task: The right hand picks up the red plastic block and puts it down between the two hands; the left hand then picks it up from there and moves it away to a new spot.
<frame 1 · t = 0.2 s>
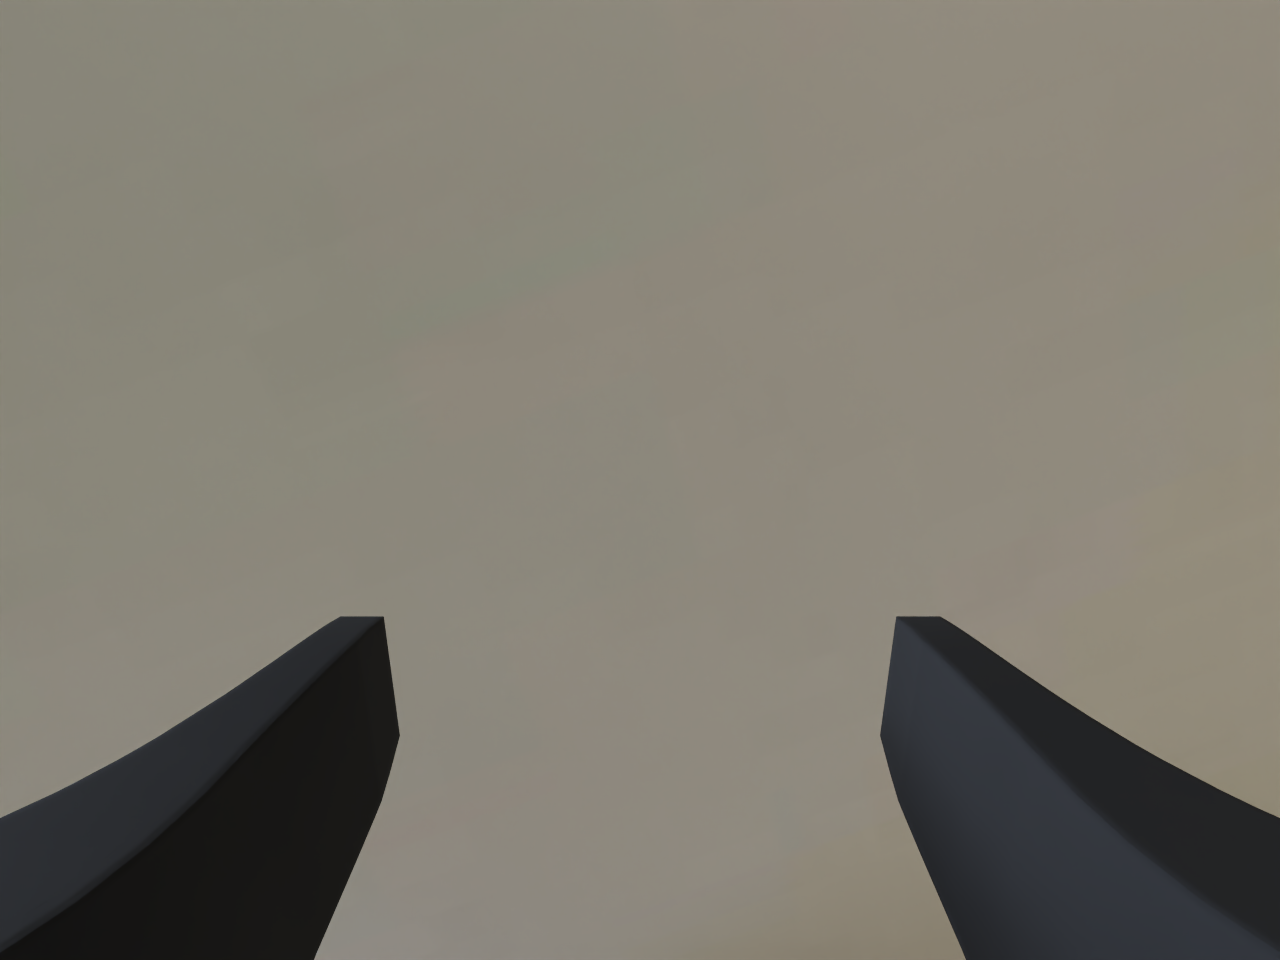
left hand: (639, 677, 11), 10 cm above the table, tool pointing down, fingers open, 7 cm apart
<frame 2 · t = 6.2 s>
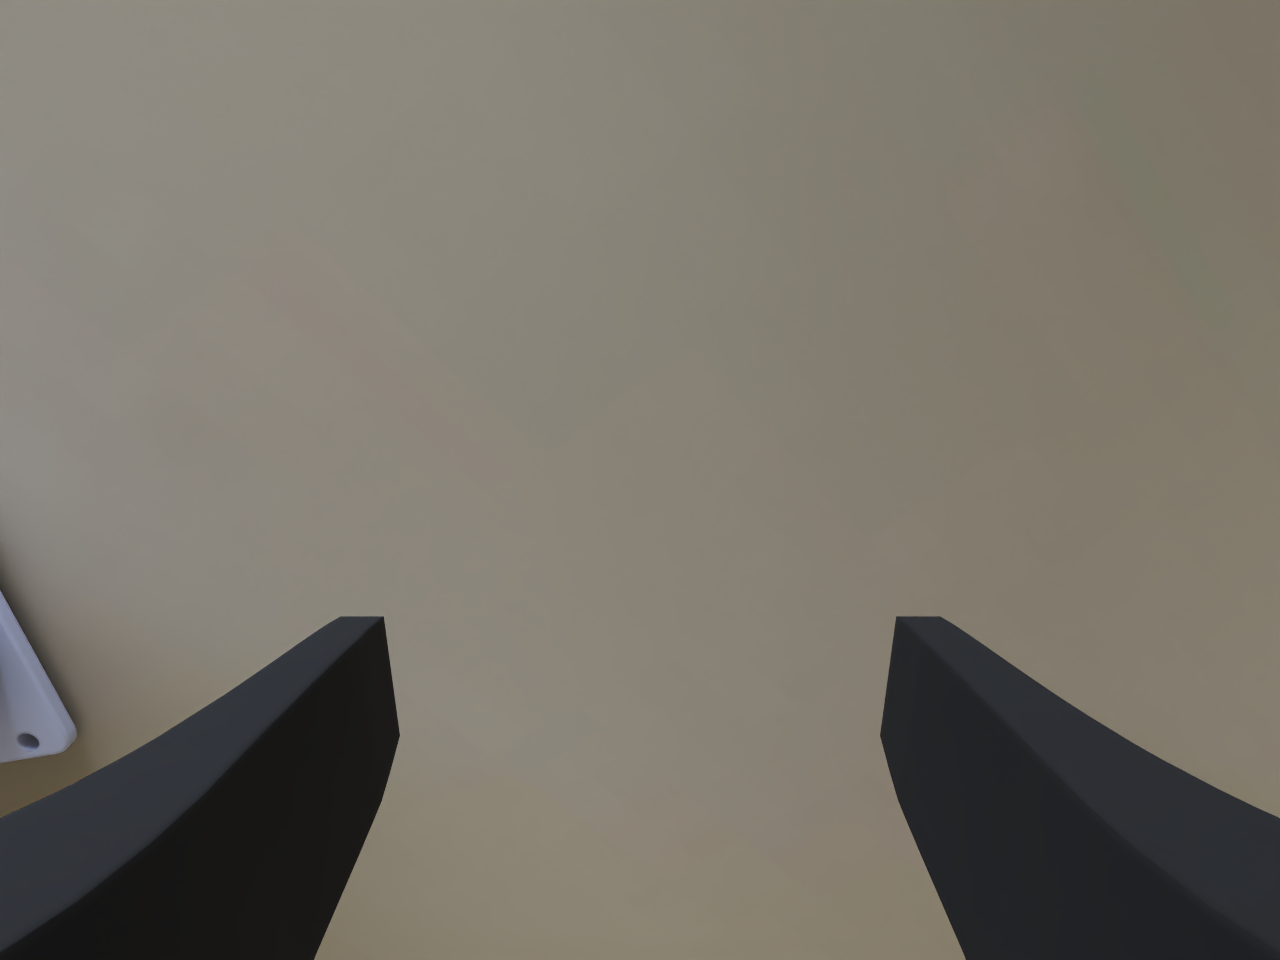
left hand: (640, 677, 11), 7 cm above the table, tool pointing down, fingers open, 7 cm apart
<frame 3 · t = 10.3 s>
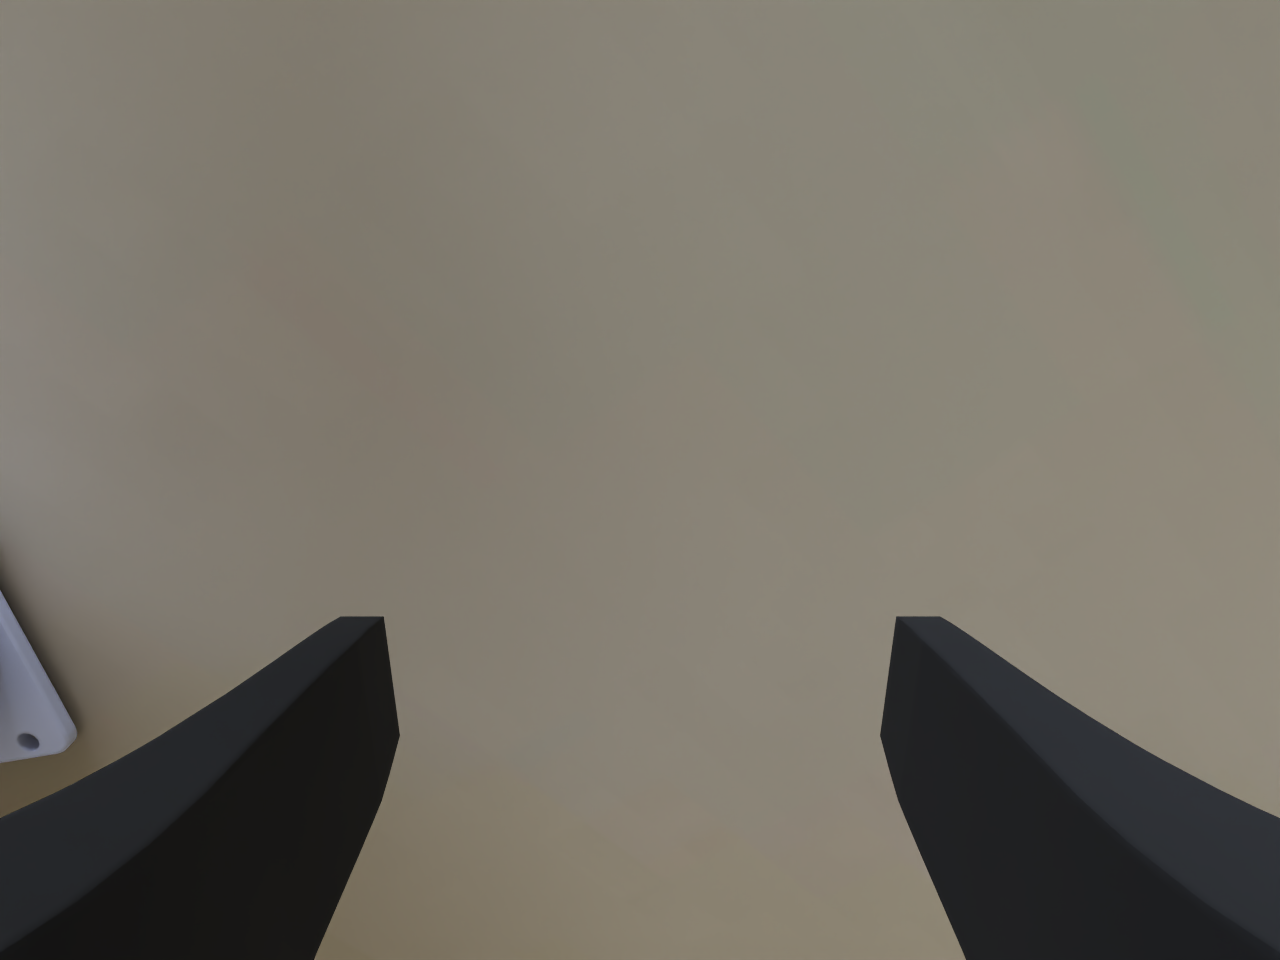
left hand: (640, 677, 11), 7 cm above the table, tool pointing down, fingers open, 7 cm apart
when the right hand's fingers open (1 cm above the table, at t = 14.8 s): block stays where it is, on the table.
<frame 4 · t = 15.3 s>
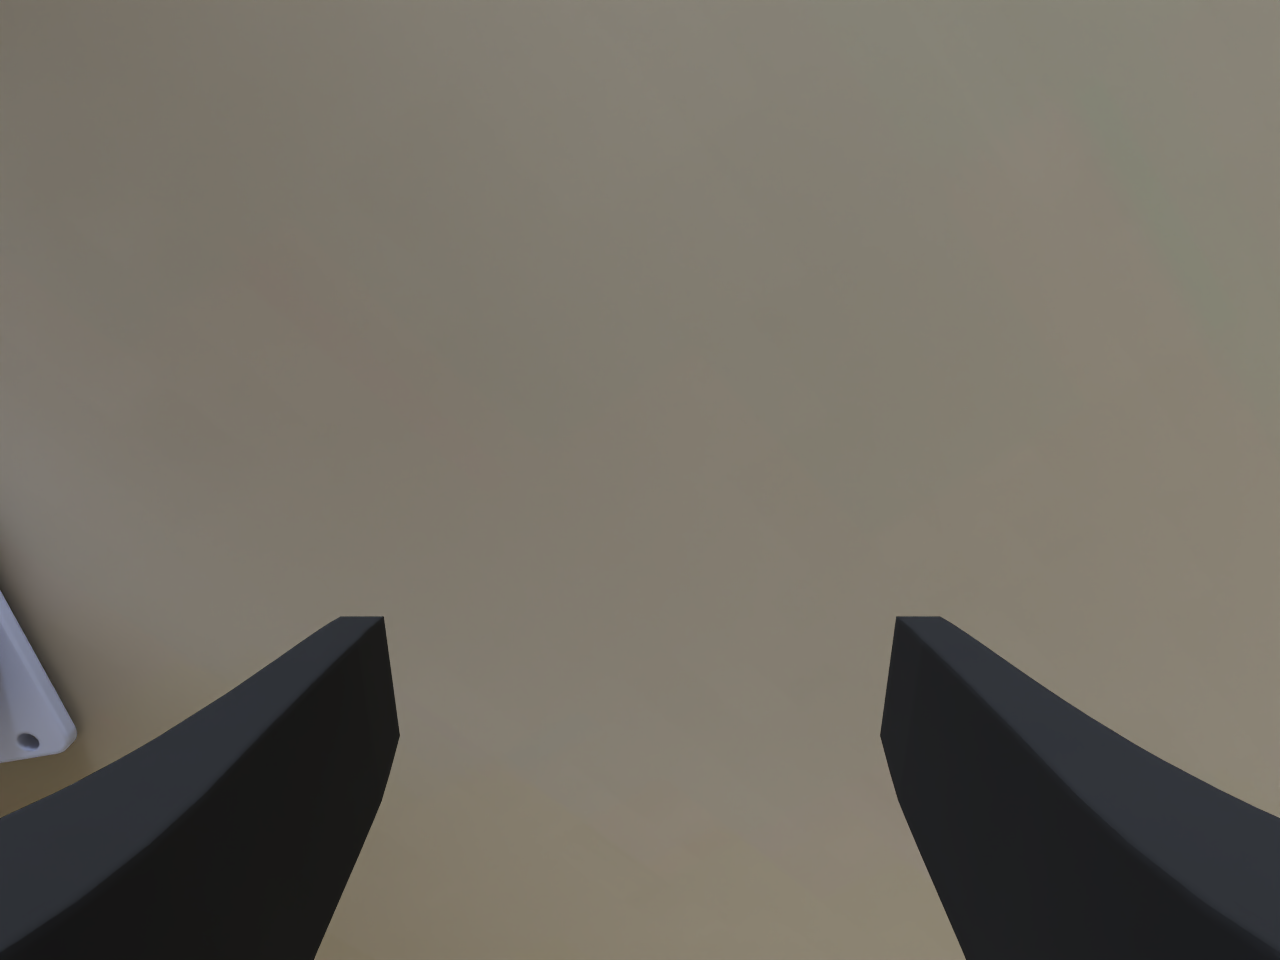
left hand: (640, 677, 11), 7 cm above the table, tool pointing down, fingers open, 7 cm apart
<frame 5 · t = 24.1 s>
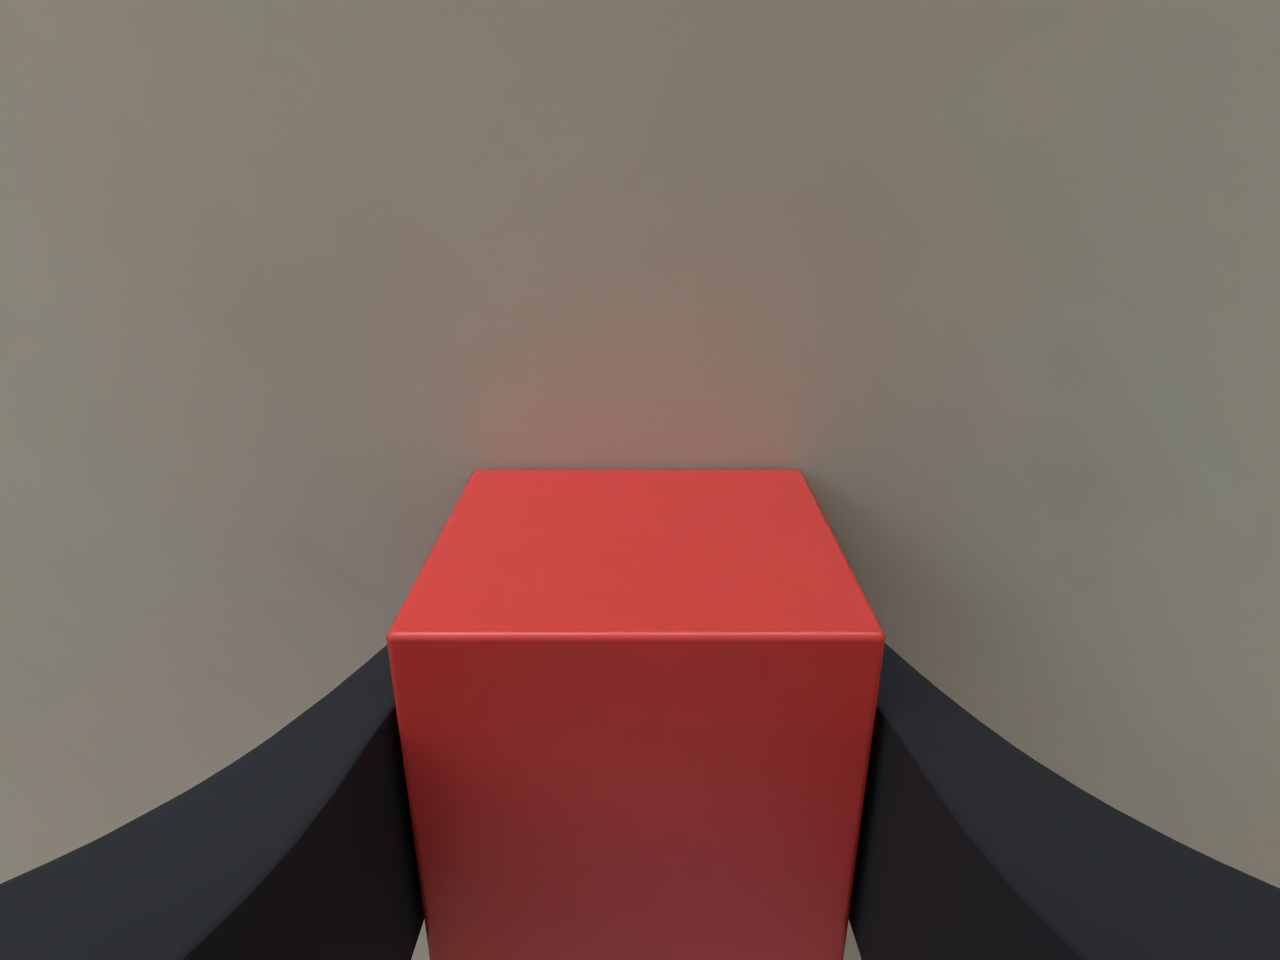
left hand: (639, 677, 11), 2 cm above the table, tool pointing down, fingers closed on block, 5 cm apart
block: (637, 614, 13), on the table, touching left hand
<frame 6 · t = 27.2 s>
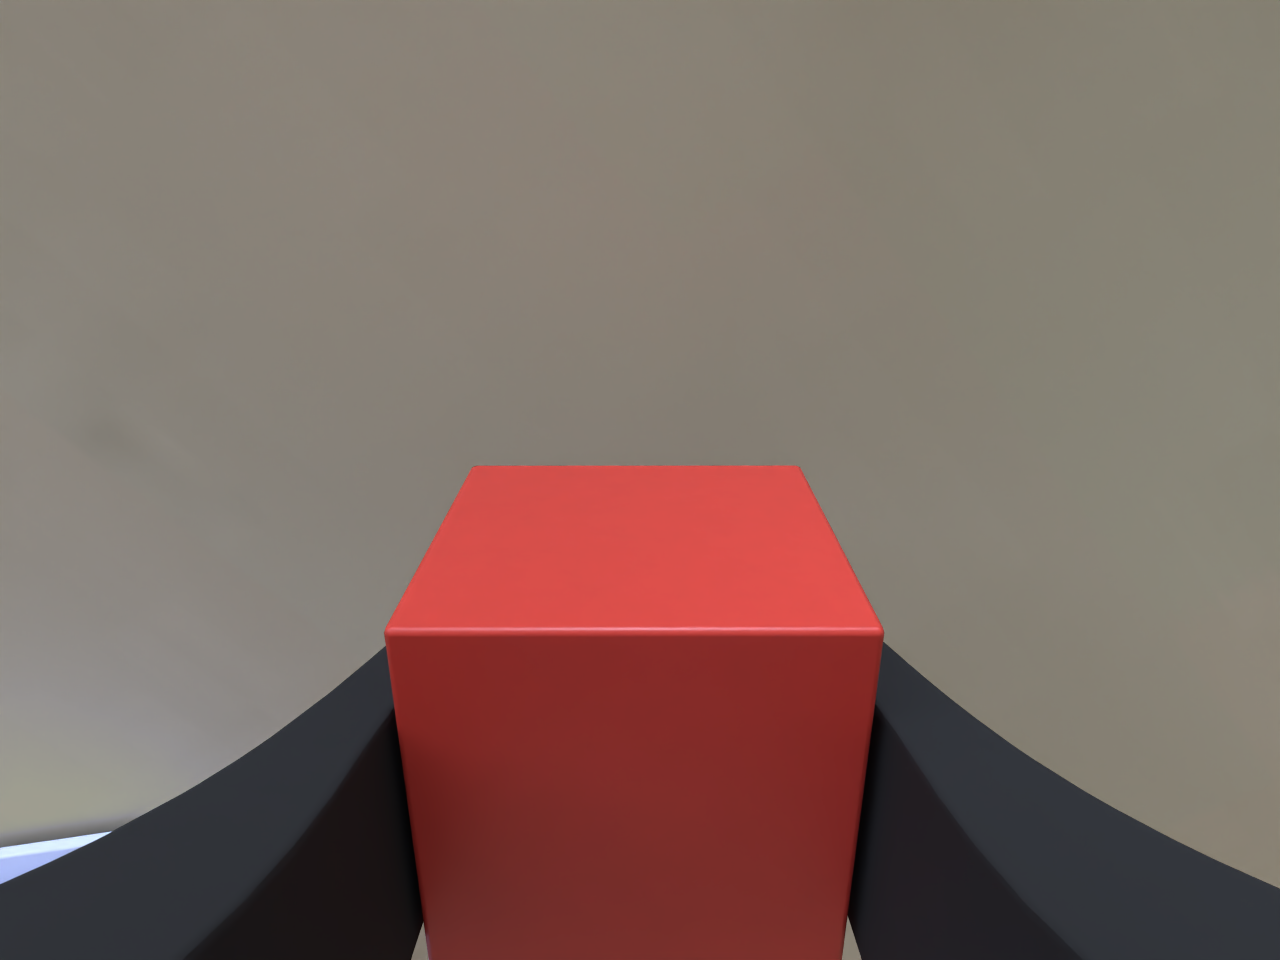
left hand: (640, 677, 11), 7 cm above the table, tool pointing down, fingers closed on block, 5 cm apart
block: (636, 612, 13), point 5 cm above the table, touching left hand
when the left hand's fingers open (2 cm above the table, at t = 30.3 s): block stays where it is, on the table.
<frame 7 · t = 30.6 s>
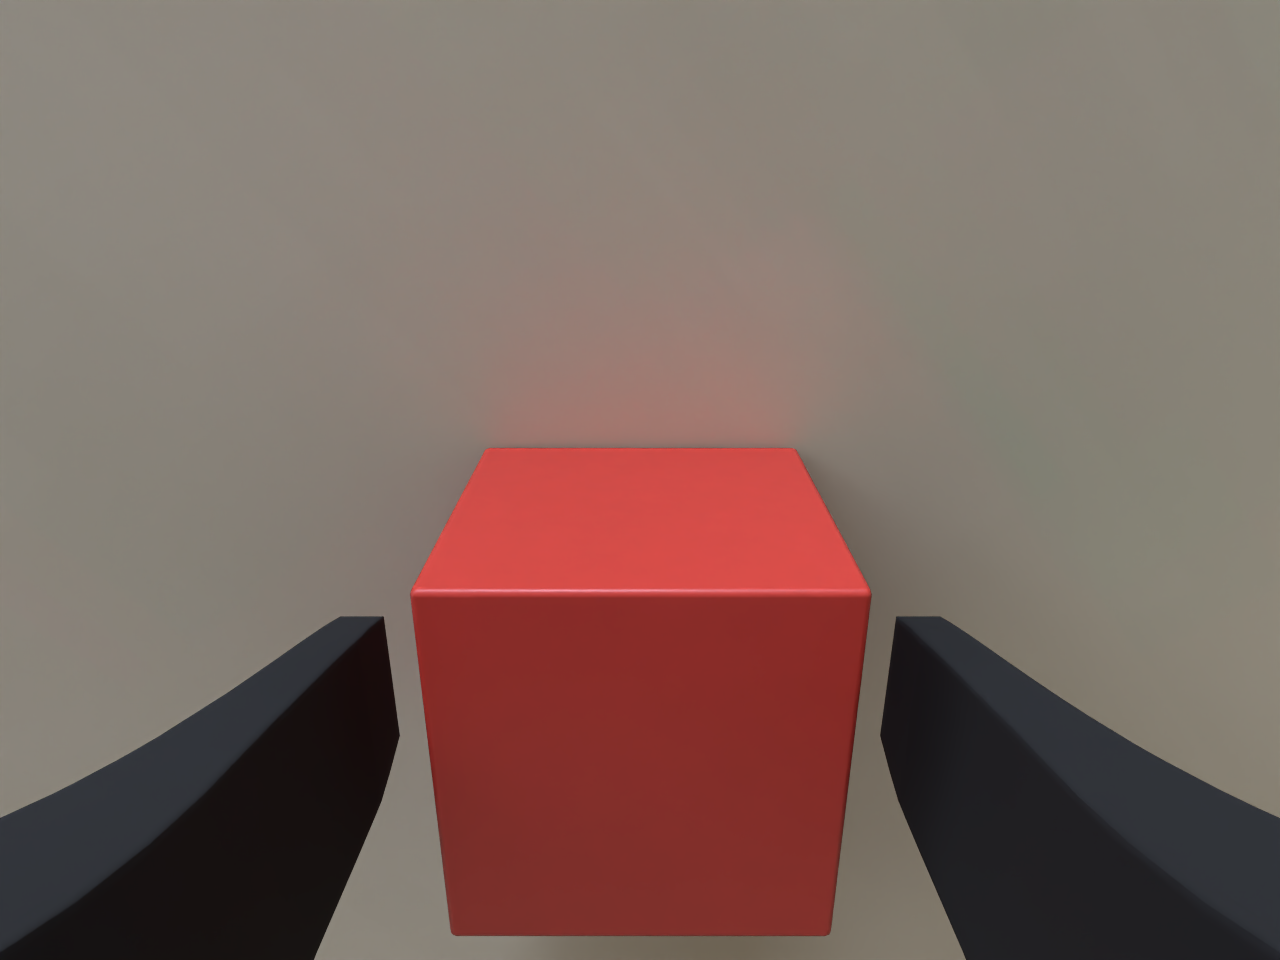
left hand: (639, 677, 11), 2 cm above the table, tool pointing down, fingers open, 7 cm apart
block: (640, 588, 13), on the table
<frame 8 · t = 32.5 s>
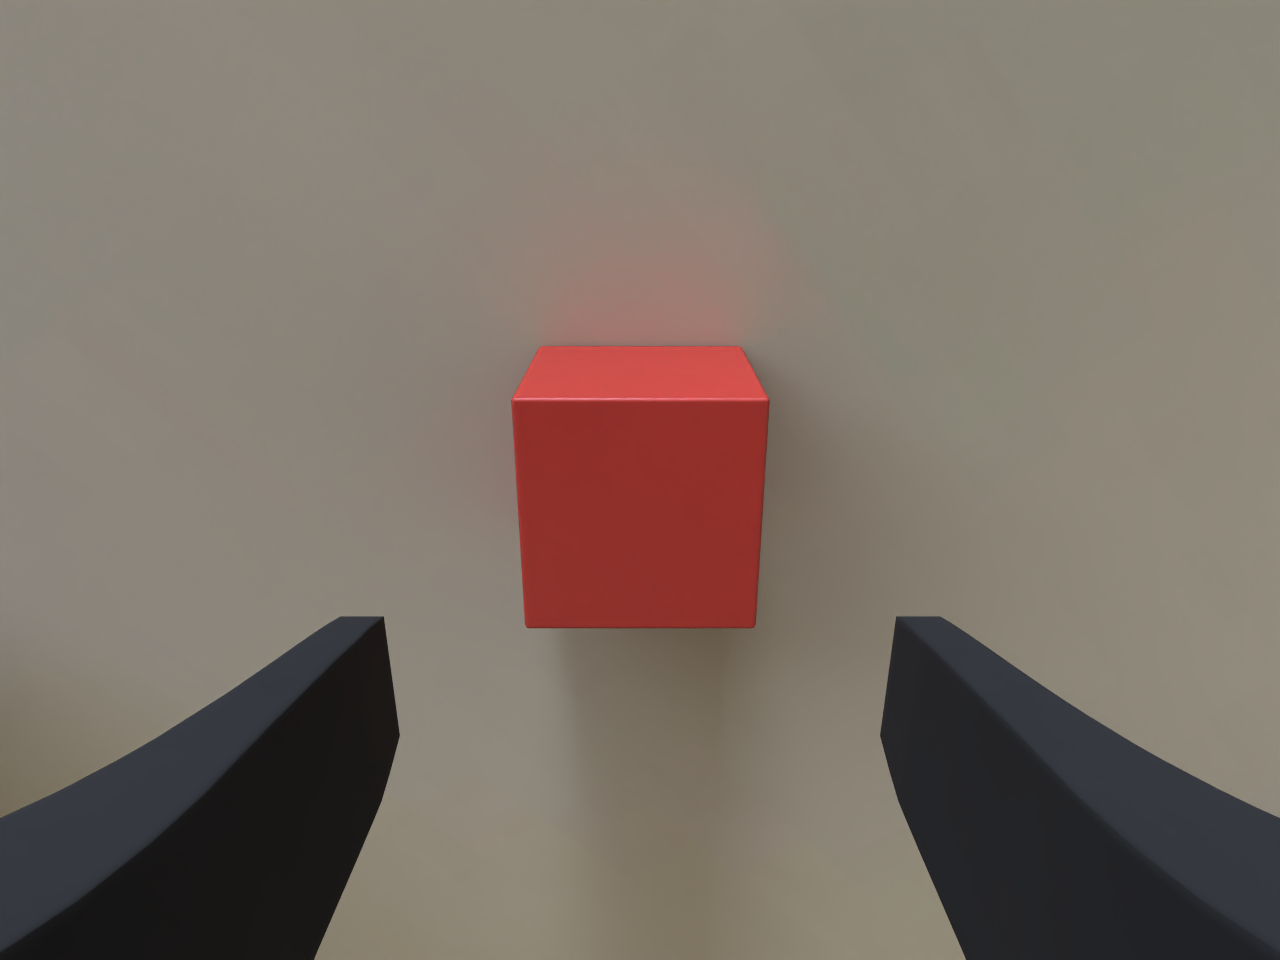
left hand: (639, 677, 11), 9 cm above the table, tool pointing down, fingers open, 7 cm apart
block: (640, 445, 20), on the table
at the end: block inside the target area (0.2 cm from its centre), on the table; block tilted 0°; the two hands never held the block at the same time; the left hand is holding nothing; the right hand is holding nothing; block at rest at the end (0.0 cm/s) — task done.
